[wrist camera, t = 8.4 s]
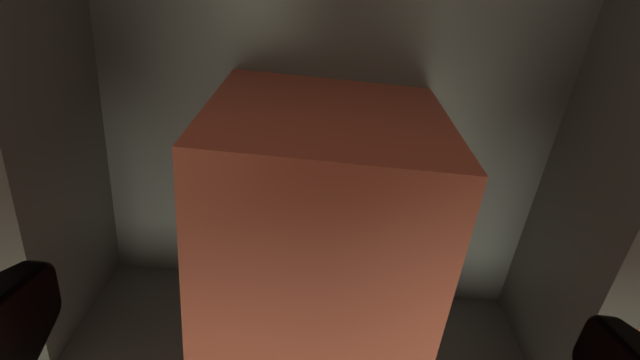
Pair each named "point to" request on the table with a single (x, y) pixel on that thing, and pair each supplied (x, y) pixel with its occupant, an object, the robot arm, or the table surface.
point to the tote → (336, 63)
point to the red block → (320, 220)
